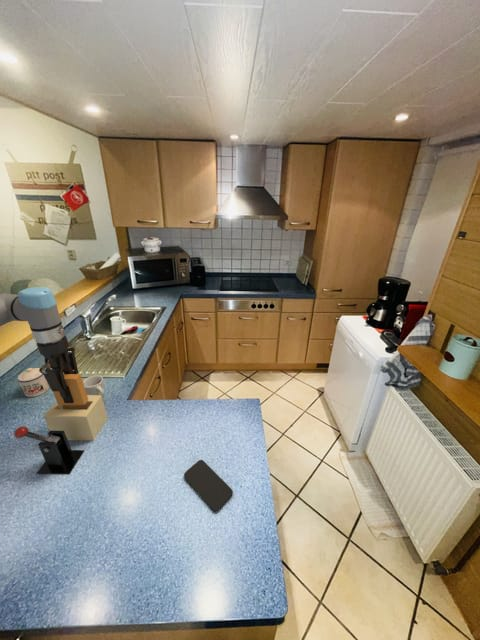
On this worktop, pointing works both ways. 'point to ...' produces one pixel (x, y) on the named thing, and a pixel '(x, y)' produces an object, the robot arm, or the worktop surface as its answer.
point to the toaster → (78, 418)
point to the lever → (35, 435)
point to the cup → (94, 385)
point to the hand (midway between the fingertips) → (72, 398)
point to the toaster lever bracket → (58, 455)
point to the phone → (208, 485)
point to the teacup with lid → (33, 382)
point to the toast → (73, 390)
